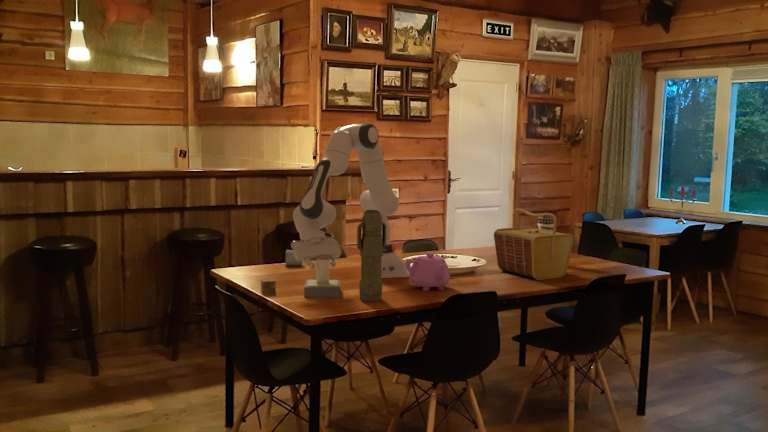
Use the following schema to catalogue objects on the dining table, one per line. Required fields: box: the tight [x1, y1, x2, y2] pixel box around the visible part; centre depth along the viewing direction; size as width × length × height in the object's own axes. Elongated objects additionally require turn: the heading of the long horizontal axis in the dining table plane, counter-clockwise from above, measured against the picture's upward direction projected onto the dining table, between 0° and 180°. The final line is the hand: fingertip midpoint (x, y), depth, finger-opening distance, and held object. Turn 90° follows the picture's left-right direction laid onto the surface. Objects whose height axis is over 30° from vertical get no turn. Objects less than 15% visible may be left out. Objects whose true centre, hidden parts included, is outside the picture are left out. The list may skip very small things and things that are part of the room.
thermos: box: [356, 210, 386, 303], centre depth 281 cm, size 9×12×35 cm
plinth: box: [303, 279, 341, 299], centre depth 291 cm, size 14×14×4 cm
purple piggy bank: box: [405, 252, 451, 292], centre depth 303 cm, size 20×20×15 cm
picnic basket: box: [493, 208, 575, 281], centre depth 339 cm, size 29×26×30 cm
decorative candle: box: [536, 215, 554, 231], centre depth 369 cm, size 9×9×25 cm
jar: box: [315, 255, 331, 284], centre depth 290 cm, size 5×5×11 cm
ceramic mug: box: [284, 249, 303, 267], centre depth 351 cm, size 11×8×8 cm
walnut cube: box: [260, 278, 277, 295], centre depth 292 cm, size 5×5×5 cm
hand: (323, 267), depth 290 cm, fingers open, 8 cm apart
